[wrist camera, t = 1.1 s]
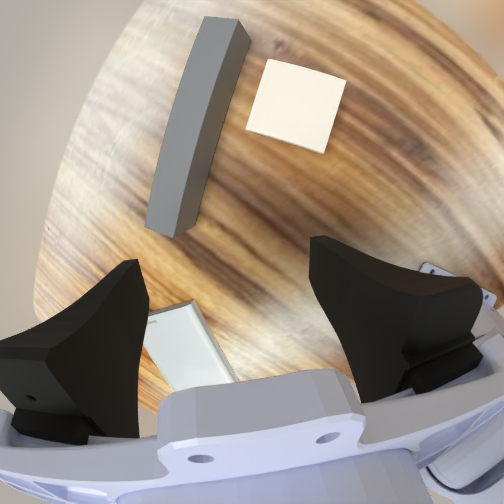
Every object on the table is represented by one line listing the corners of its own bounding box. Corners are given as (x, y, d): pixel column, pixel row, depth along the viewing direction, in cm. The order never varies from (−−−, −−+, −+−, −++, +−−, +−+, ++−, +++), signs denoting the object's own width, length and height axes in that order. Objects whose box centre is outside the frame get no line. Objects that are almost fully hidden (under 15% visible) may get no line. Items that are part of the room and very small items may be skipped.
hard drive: (127, 321, 28) (184, 408, 30) (190, 303, 25) (246, 403, 28) (135, 314, 29) (189, 399, 32) (197, 295, 27) (249, 393, 29)
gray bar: (251, 40, 18) (238, 19, 15) (194, 225, 24) (173, 238, 20) (222, 35, 19) (204, 16, 15) (168, 216, 24) (144, 226, 20)
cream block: (341, 94, 19) (346, 80, 15) (321, 154, 20) (323, 153, 17) (276, 75, 19) (268, 58, 15) (257, 134, 21) (245, 129, 17)
